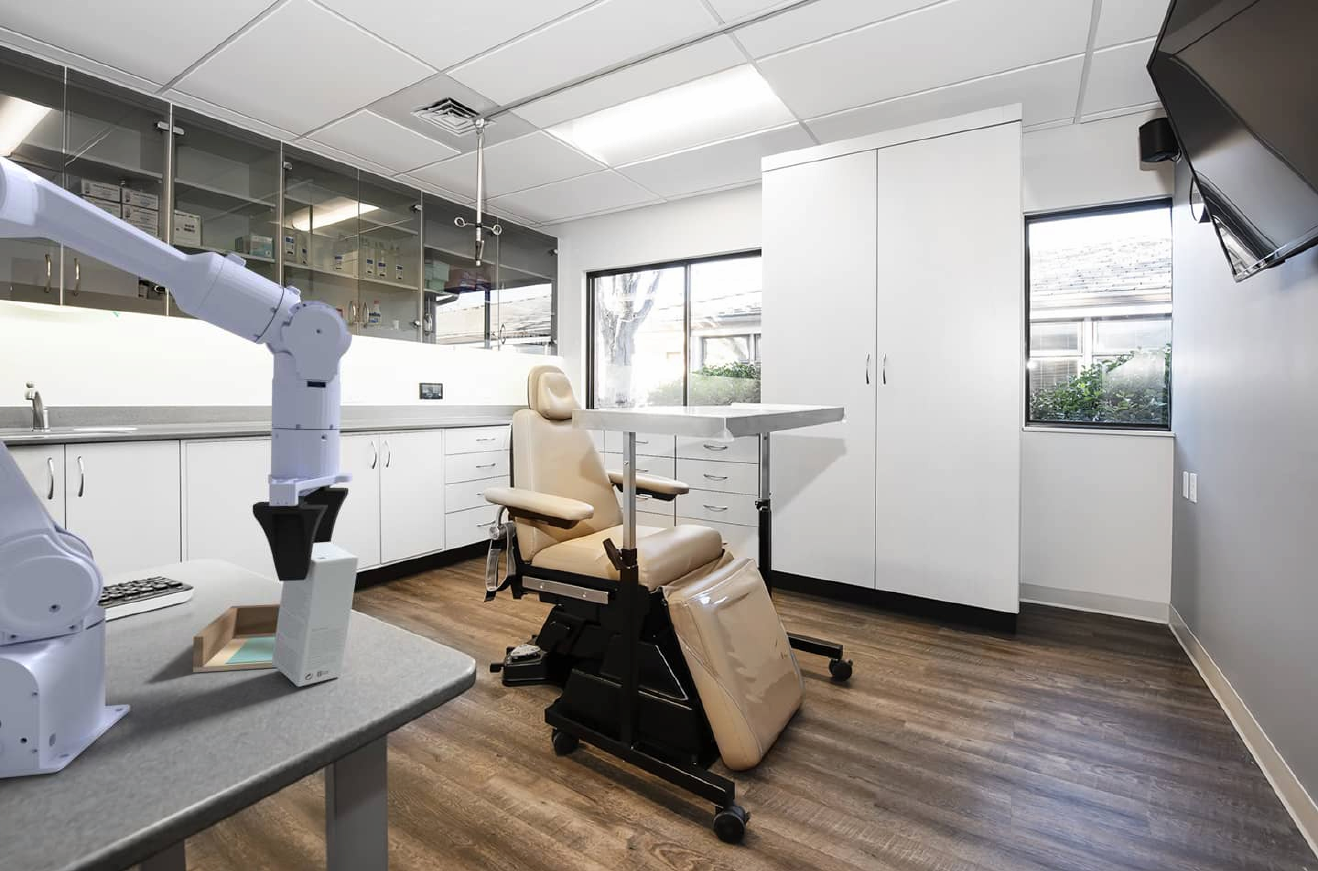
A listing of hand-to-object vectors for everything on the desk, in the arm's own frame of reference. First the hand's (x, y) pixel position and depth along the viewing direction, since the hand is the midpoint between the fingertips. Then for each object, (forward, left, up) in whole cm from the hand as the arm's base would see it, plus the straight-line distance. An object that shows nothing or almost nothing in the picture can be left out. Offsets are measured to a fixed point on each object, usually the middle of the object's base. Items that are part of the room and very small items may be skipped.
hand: (304, 568), depth 60 cm
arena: (+7, +5, -10) cm, 14 cm away
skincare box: (0, 0, -10) cm, 10 cm away
